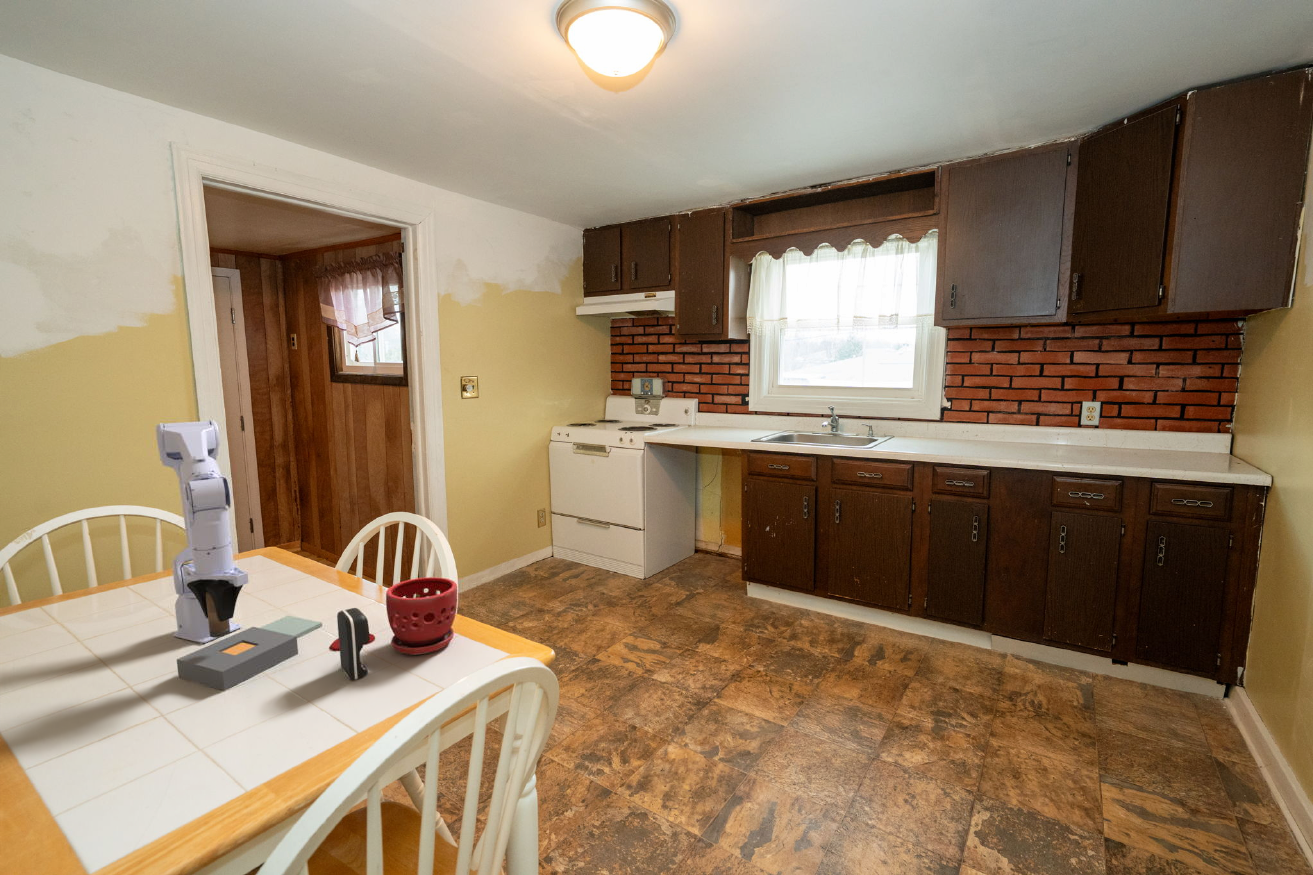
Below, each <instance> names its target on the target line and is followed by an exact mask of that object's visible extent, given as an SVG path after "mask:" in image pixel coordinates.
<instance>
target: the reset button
mask: <svg viewBox="0 0 1313 875" xmlns="http://www.w3.org/2000/svg"><path fill="white" fill-rule="evenodd" d="M254 646H255V645H251V644H247V643H240V644H238V645H236V646H233V647H231V648H229V649H227V650H224V651H222V652H224V653H228V654H232V655H237V654H239V653H241V652H244V651H246V650H248V649H250V648H252V647H254Z"/></svg>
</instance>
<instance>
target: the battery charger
mask: <svg viewBox="0 0 1313 875" xmlns="http://www.w3.org/2000/svg"><path fill="white" fill-rule="evenodd" d="M336 617H337V620H336V622H337V632H338V638H339V647H340V651H339V656H340V667H341V669H342V670H343V672H344V673H345V675H347V677H348V678H349V679H350V681H354V680H358V679H360V678H363V677H365V676H366V675H367V674H369V673H368V672H369V671H368V668H367V666H365V665H364V664H363V662H362V661H361V651H362V649H363V648H364V645H363V644H366V643H368V642H369V640H370V635H369V633H370V629H369V628H370V627H369V620H368V618H367V617H366V615H365V614H364V613H363V612H362V611H361V610H360V609H359V608H357V607H352V608H348V609H347V608H346V609H342V610H339V611H338V612H337V616H336Z"/></svg>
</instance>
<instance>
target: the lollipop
mask: <svg viewBox="0 0 1313 875" xmlns="http://www.w3.org/2000/svg"><path fill="white" fill-rule="evenodd" d="M369 635H370V640H369V642H368V643H366V644H363V646H367V645H369V644H372V643H373V642H375V640H376V637H375V635H374V634H373V633H370V632H369ZM329 649H330V650H331V651H332V652H333V651H334V652H340V647H339V637H338V638H336V639H335V640H333V641H332V643H331V644H330V646H329Z"/></svg>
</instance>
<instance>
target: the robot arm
mask: <svg viewBox="0 0 1313 875" xmlns="http://www.w3.org/2000/svg"><path fill="white" fill-rule="evenodd" d="M155 432H156V434H155V435H156V440H157V441H156V442H157V444H156V445H157V449H158V453H159V459H160V461H161V462H162V463H161V464H162V465H163V466H165V467H167V468H168V467H169V468H173V470H174V473H175V474H176V476H177V478H178V483H179V490H180V491H179V492H180V498H181V507H182V512H183V513H182V514H183V520H184V521H183V522H184V529H185V536H186V544H187V546H186V547H185V548H184V549H183V550H181V551H180V552H179V553H177V554H176V555H175V556H174V558H173V560H172V577H173V585H174V592H175V594H176V595H178V596H177V598H176V600H175V605H174V607H175V608H174V609H175V616H176V617H175V618H176V619H175V620H176V627H177V631H175V632H174V633H172V635H173V637H176V638H181V639H184V640H187V641H188V640H189V641H191V642H196V643H200V644H206V643H208V642H210V641H212V640H215V639H218V638H219V637H210V632H209V622H208V612H207V603H206V592H208V593H209V594H210V596H211V597H212V599H213V602H214V604H215V609H216V613H217V617H218V619H219V621H220V622H223V621H226V620H228V619H229V624H230V633H232V632H235V631H236V630H239V629H241V628H242V627H243V625H242V624H240V623H234V622H232V619H233V618H234V614H235V609H236V606H237V601H238V597H239V594H240V592H241V590H242V589H243V587H244V585H246V584H247V585H248V584H249V583H250V581H249V574H248V572H246V571H243V570H242V569H240V568H239V567H238V566H237V565H235V563H234V555H233V554H234V553H233V545H232V544H233V542H232V532H231V523H230V522H231V521H230V511H229V509H231V506H232V491H231V490H232V489H231V486H230V483H229V481H228V478H227V476H225V475H222V474H221V470H220V466H219V464H218V461H217V457H218V455H219V448H220V443H221V442H220V440H221V439H220V432H219V427H218V423H217V422H216V421H215V420H214V419H210V420H204V421H201V420H200V421H187V422H168V423H163V422H159V423H158V424H157V425H156V426H155ZM226 506H227V507H226ZM191 561H192V562H191Z"/></svg>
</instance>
